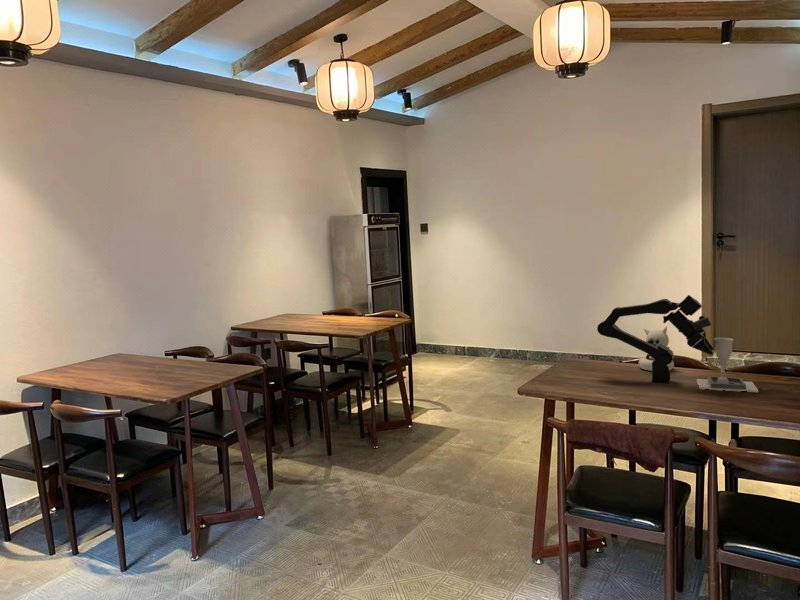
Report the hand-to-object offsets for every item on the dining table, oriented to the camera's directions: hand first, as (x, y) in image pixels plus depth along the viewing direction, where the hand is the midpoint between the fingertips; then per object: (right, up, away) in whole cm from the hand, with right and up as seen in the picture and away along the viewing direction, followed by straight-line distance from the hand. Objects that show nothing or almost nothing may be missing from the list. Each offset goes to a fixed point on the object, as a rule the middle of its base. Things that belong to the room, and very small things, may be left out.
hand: (712, 351), depth 238 cm
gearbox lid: (+5, -14, -1) cm, 14 cm away
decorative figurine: (-9, -11, +32) cm, 35 cm away
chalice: (+4, -13, 0) cm, 13 cm away
